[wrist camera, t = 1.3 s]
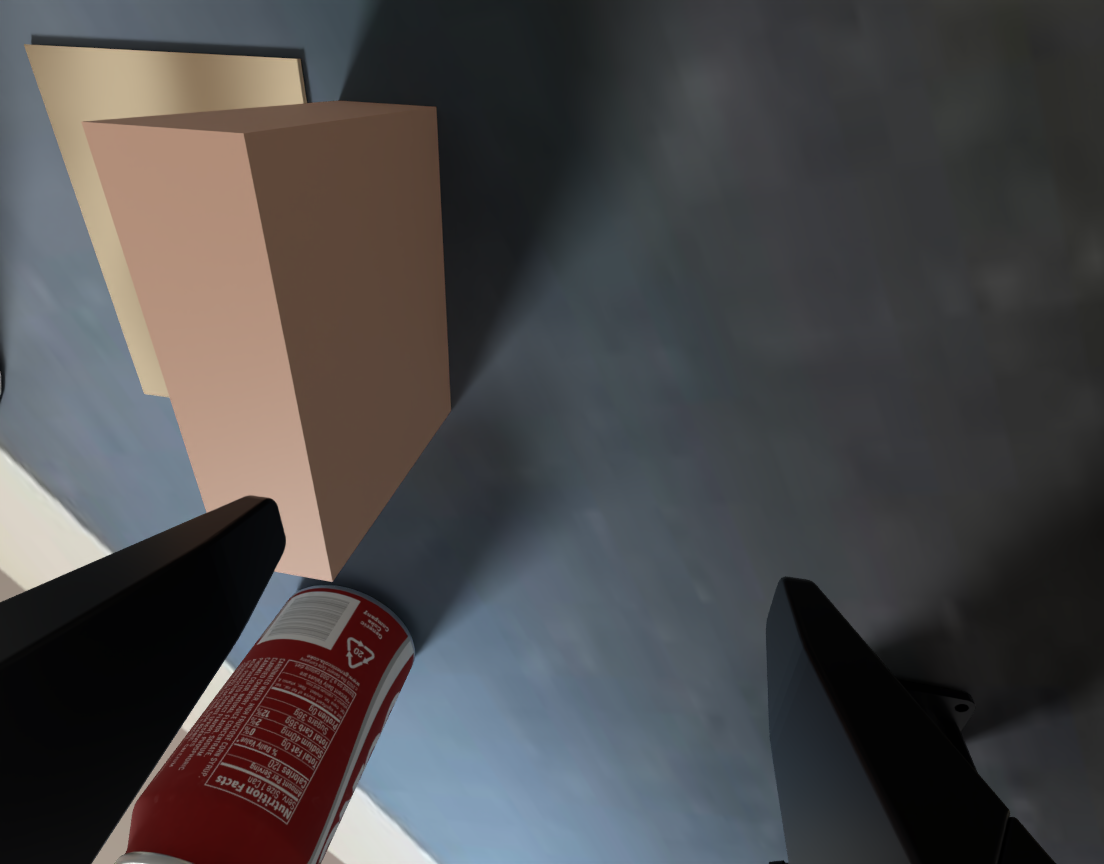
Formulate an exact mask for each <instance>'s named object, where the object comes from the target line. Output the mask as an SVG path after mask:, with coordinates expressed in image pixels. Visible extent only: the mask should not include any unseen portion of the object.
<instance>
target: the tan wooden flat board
mask: <svg viewBox="0 0 1104 864" xmlns="http://www.w3.org/2000/svg"><path fill="white" fill-rule="evenodd" d="M24 46H25V49H26V52H27V55H28V58H29V61H30V64H31V67H32V69H33V72H34V75H35V78H36V81H37V84H38V87H39V90H40V93H41V96H42V98H43V101H44V104H45V107H46V110H47V113H48V116H49V119H50V122H51V125H52V127H53V130H54V133H55V136H56V139H57V142H58V145H59V148H60V151H61V154H62V156H63V159H64V162H65V165H66V168H67V171H68V174H69V177H70V180H71V183H72V185H73V188H74V191H75V194H76V197H77V200H78V203H79V206H80V209H81V212H82V214H83V217H84V220H85V223H86V226H87V229H88V232H89V235H90V238H91V241H92V244H93V246H94V249H95V252H96V255H97V258H98V261H99V264H100V267H101V270H102V273H103V275H104V278H105V281H106V284H107V287H108V290H109V293H110V296H111V299H112V302H113V304H114V307H115V310H116V313H117V316H118V319H119V322H120V325H121V328H122V331H123V333H124V336H125V339H126V342H127V345H128V348H129V351H130V354H131V357H132V360H133V362H134V365H135V368H136V371H137V374H138V377H139V380H140V383H141V386H142V389H143V391H144V394H149V395H156V396H163V397H169V394H168V390H167V387H166V384H165V381H164V378H163V375H162V372H161V369H160V366H159V362H158V359H157V356H156V353H155V350H154V347H153V344H152V341H151V338H150V334H149V331H148V328H147V325H146V322H145V319H144V316H143V313H142V310H141V306H140V303H139V300H138V297H137V294H136V291H135V288H134V285H133V282H132V278H131V275H130V272H129V269H128V266H127V263H126V260H125V257H124V254H123V250H122V247H121V244H120V241H119V238H118V235H117V232H116V229H115V225H114V222H113V219H112V216H111V213H110V210H109V207H108V204H107V201H106V197H105V194H104V191H103V188H102V185H101V182H100V179H99V176H98V173H97V169H96V166H95V163H94V160H93V157H92V154H91V151H90V148H89V145H88V141H87V138H86V135H85V132H84V129H83V126H82V123H81V122H83V121H95V120H107V119H120V118H132V117H144V116H156V115H169V114H181V113H193V112H206V111H218V110H230V109H242V108H255V107H267V106H279V105H292V104H304V103H307V100H306V93H305V86H304V79H303V72H302V65H301V59H291V58H272V57H253V56H234V55H216V54H197V53H178V52H159V51H140V50H121V49H103V48H84V47H65V46H46V45H26V44H24Z"/></svg>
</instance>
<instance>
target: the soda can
mask: <svg viewBox="0 0 1104 864" xmlns="http://www.w3.org/2000/svg"><path fill="white" fill-rule="evenodd" d="M414 658H415V647H414V643H413V639H412V637H411V635H410V633H409V631H408V629H407V628H406V626H405V625H404V623H403V622H402V621H401V620H400V619H399V617H398V616H397V615H396V614H395V613H394V612H392V611H391V610H390V609H389V608H388V607H386V606H385V605H383V604H382V603H381V602H379V601H377V600H376V599H374V598H372V597H370V596H368V595H366V594H364V593H362V592H359V591H356V590H353V589H350V588H346V587H342V586H336V585H316V586H311V587H307V588H304V589H302V590H300V591H298V592H296V593H295V594H294V595H292V596H291V597H290V598H289V600H288V601H287V602H286V604H285V605H284V606H283V608H282V609H281V610H280V612H279V613H278V614H277V616H276V617H275V618H274V620H273V621H272V622H271V624H270V625H269V626H268V628H267V629H266V630H265V632H264V633H263V634H262V636H261V637H260V638H259V640H258V641H257V642H256V643H255V645H254V646H253V647H252V649H251V650H250V651H249V653H248V654H247V655H246V657H245V658H244V659H243V661H242V662H241V663H240V665H239V666H238V667H237V669H236V670H235V671H234V673H233V674H232V675H231V677H230V678H229V679H228V681H227V682H226V683H225V685H224V686H223V687H222V689H221V690H220V691H219V693H218V694H217V695H216V697H215V698H214V699H213V701H212V702H211V703H210V704H209V706H208V707H207V708H206V710H205V711H204V712H203V714H202V715H201V716H200V718H199V719H198V720H197V722H196V723H195V724H194V726H193V727H192V728H191V730H190V731H189V732H188V734H187V735H186V736H185V738H184V739H183V740H182V742H181V743H180V744H179V746H178V747H177V748H176V750H175V751H174V752H173V754H172V755H171V756H170V758H169V759H168V760H167V762H166V763H165V764H164V766H163V767H162V768H161V770H160V771H159V772H158V773H157V775H156V776H155V777H154V779H153V780H152V781H151V783H150V784H149V785H148V787H147V788H146V790H145V791H144V792H143V793H142V795H141V796H140V797H139V799H138V800H137V802H136V804H135V806H134V809H133V813H132V820H131V827H130V834H129V841H128V848H127V851H126V853H125V854H124V855H122V856H120V857H119V858H118V859H117V861H116V862H115V863H114V864H321V862H322V860H323V858H324V856H325V854H326V851H327V849H328V847H329V845H330V843H331V841H332V838H333V836H334V834H335V832H336V830H337V828H338V825H339V823H340V821H341V819H342V817H343V815H344V812H345V810H346V808H347V806H348V804H349V802H350V799H351V797H352V795H353V793H354V791H355V789H356V786H357V784H358V782H359V780H360V778H361V776H362V773H363V771H364V769H365V767H366V765H367V763H368V760H369V758H370V756H371V754H372V752H373V750H374V747H375V745H376V743H377V741H378V739H379V737H380V734H381V732H382V730H383V728H384V726H385V724H386V721H387V719H388V717H389V715H390V713H391V711H392V708H393V706H394V704H395V702H396V700H397V698H398V695H399V693H400V691H401V689H402V687H403V685H404V682H405V680H406V678H407V676H408V674H409V672H410V669H411V667H412V665H413V662H414Z"/></svg>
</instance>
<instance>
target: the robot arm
mask: <svg viewBox="0 0 1104 864" xmlns="http://www.w3.org/2000/svg"><path fill="white" fill-rule="evenodd" d="M285 546H286V536H285V532H284V528H283V524H282V520H281V516H280V512H279V508H278V505H277V503H276V502H275V501H274V500H273V499H271V498H267V497H260V496H254V495H248V496H245V497H242V498H240V499H237V500H235V501H233V502H231V503H228V504H226V505H224V506H221V507H219V508H217V509H214V510H212V511H210V512H207V513H205V514H203V515H201V516H198V517H196V518H194V519H191V520H189V521H187V522H184V523H182V524H180V525H177V526H175V527H173V528H171V529H168V530H166V531H164V532H161V533H159V534H157V535H154V536H152V537H150V538H148V539H145V540H143V541H141V542H138V543H136V544H134V545H131V546H129V547H127V548H124V549H122V550H120V551H118V552H115V553H113V554H111V555H108V556H106V557H104V558H101V559H99V560H97V561H94V562H92V563H90V564H88V565H85V566H83V567H81V568H78V569H76V570H74V571H71V572H69V573H67V574H64V575H62V576H60V577H58V578H55V579H53V580H51V581H48V582H46V583H44V584H41V585H39V586H37V587H35V588H32V589H30V590H28V591H25V592H23V593H21V594H19V595H16V596H14V597H12V598H9V599H7V600H5V601H2V602H0V864H92V862H93V861H94V859H95V858H96V856H97V855H98V853H99V852H100V850H101V848H102V847H103V845H104V844H105V842H106V841H107V839H108V838H109V836H110V835H111V833H112V832H113V830H114V829H115V827H116V826H117V824H118V823H119V821H120V819H121V818H122V816H123V815H124V813H125V812H126V810H127V809H128V807H129V806H130V804H131V803H132V801H133V800H134V798H135V797H136V795H137V793H138V792H139V790H140V789H141V787H142V786H143V784H144V783H145V781H146V780H147V778H148V777H149V775H150V774H151V772H152V771H153V769H154V768H155V766H156V764H157V763H158V761H159V760H160V758H161V757H162V755H163V754H164V752H165V751H166V749H167V748H168V746H169V744H170V743H171V741H172V740H173V738H174V737H175V735H176V734H177V732H178V731H179V729H180V728H181V726H182V725H183V723H184V722H185V720H186V719H187V717H188V716H189V714H190V712H191V711H192V709H193V708H194V706H195V705H196V703H197V702H198V700H199V699H200V697H201V696H202V694H203V693H204V691H205V690H206V688H207V686H208V685H209V683H210V682H211V680H212V679H213V677H214V676H215V674H216V673H217V671H218V670H219V668H220V667H221V665H222V664H223V662H224V660H225V659H226V657H227V656H228V654H229V653H230V651H231V650H232V648H233V646H234V645H235V643H236V642H237V640H238V638H239V637H240V635H241V633H242V631H243V630H244V628H245V626H246V624H247V623H248V621H249V619H250V617H251V615H252V613H253V611H254V609H255V607H256V605H257V603H258V601H259V599H260V597H261V596H262V594H263V592H264V590H265V588H266V586H267V584H268V582H269V580H270V578H271V576H272V574H273V572H274V571H275V569H276V567H277V565H278V563H279V561H280V559H281V557H282V555H283V553H284V550H285ZM766 650H767V679H768V708H769V730H770V742H771V750H772V757H773V764H774V771H775V777H776V784H777V790H778V797H779V803H780V810H781V816H782V823H783V829H784V836H785V842H786V849H787V855H788V862H789V863H785V862H784V861H773V862H769V864H1056V863H1055V862H1054V861H1053V860H1052V859H1051V857H1050V856H1049V855H1048V854H1047V853H1046V852H1045V851H1044V850H1043V848H1042V847H1041V846H1040V845H1039V844H1038V843H1037V841H1036V840H1035V839H1034V838H1033V837H1032V836H1031V834H1030V833H1029V832H1028V831H1027V830H1026V829H1025V827H1024V826H1023V825H1022V824H1021V823H1020V822H1019V820H1018V819H1017V818H1015V817H1010V811H1009V809H1008V808H1007V807H1006V806H1005V804H1004V803H1003V802H1002V801H1001V800H1000V799H999V797H998V796H997V795H996V794H995V793H994V792H993V790H992V789H991V788H990V787H989V786H988V785H987V783H986V782H985V781H984V780H983V779H982V778H981V776H980V775H979V774H978V772H977V770H976V768H975V765H974V763H973V760H972V758H971V756H970V753H969V751H968V748H967V746H966V744H965V741H964V739H963V736H962V734H961V731H962V730H963V728H964V727H965V725H966V723H967V722H968V720H969V719H970V717H971V716H972V714H973V713H974V711H975V709H976V706H975V704H974V702H973V700H972V697H971V696H970V695H969V694H968V693H965V692H962V691H956V690H950V689H945V688H939V687H934V686H928V685H923V684H917V683H911V682H906V681H900V680H897V679H896V677H895V676H894V675H893V674H892V673H891V672H890V670H889V669H888V668H887V667H886V666H885V665H884V663H883V662H882V661H881V660H880V659H879V658H878V656H877V655H876V654H875V653H874V652H873V651H872V649H871V648H870V647H869V646H868V645H867V644H866V642H865V641H864V640H863V639H862V638H861V637H860V635H859V634H858V633H857V632H856V631H855V630H854V628H853V627H852V626H851V625H850V624H849V623H848V621H847V620H846V619H845V618H844V617H843V616H842V614H841V613H840V612H839V611H838V610H837V609H836V607H835V606H834V605H833V604H832V603H831V602H830V600H829V599H828V598H827V597H826V596H825V595H824V593H823V592H822V591H821V590H820V589H819V588H818V586H817V585H816V584H815V583H813V582H812V581H810V580H806V579H799V578H793V577H783V578H781V579H780V581H779V582H778V585H777V588H776V591H775V595H774V598H773V601H772V604H771V607H770V611H769V614H768V618H767V624H766ZM1009 817H1010V818H1009Z"/></svg>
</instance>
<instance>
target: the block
mask: <svg viewBox="0 0 1104 864" xmlns="http://www.w3.org/2000/svg"><path fill="white" fill-rule="evenodd" d="M81 123H82V126H83V129H84V132H85V135H86V138H87V141H88V145H89V148H90V151H91V154H92V157H93V160H94V163H95V166H96V169H97V173H98V176H99V179H100V182H101V185H102V188H103V191H104V194H105V197H106V201H107V204H108V207H109V210H110V213H111V216H112V219H113V222H114V225H115V229H116V232H117V235H118V238H119V241H120V244H121V247H122V250H123V254H124V257H125V260H126V263H127V266H128V269H129V272H130V275H131V278H132V282H133V285H134V288H135V291H136V294H137V297H138V300H139V303H140V306H141V310H142V313H143V316H144V319H145V322H146V325H147V328H148V331H149V334H150V338H151V341H152V344H153V347H154V350H155V353H156V356H157V359H158V362H159V366H160V369H161V372H162V375H163V378H164V381H165V384H166V387H167V390H168V394H169V397H170V400H171V403H172V406H173V409H174V412H175V415H176V418H177V422H178V425H179V428H180V431H181V434H182V437H183V440H184V443H185V446H186V450H187V453H188V456H189V459H190V462H191V465H192V468H193V471H194V475H195V478H196V481H197V484H198V487H199V490H200V493H201V496H202V499H203V503H204V506H205V509H206V512H210V511H212V510H214V509H217V508H219V507H221V506H224V505H226V504H228V503H231V502H233V501H235V500H237V499H240V498H242V497H245V496H248V495H254V496H260V497H267V498H271V499H273V500H274V501H275V502H276V503H277V505H278V508H279V512H280V516H281V520H282V524H283V528H284V532H285V536H286V546H285V550H284V553H283V555H282V557H281V559H280V561H279V563H278V565H277V567H276V569H275V571H274V572H280V573H285V574H291V575H297V576H302V577H308V578H313V579H319V580H324V581H330V582H333V581H334V579H335V578H336V576H337V575H338V573H339V572H340V571H341V569H342V568H343V566H344V565H345V563H346V562H347V560H348V559H349V558H350V556H351V555H352V553H353V552H354V550H355V549H356V547H357V546H358V545H359V543H360V542H361V540H362V539H363V537H364V536H365V534H366V533H367V532H368V530H369V529H370V527H371V526H372V524H373V523H374V521H375V520H376V519H377V517H378V516H379V514H380V513H381V511H382V510H383V508H384V507H385V506H386V504H387V503H388V501H389V500H390V498H391V497H392V495H393V494H394V493H395V491H396V490H397V488H398V487H399V485H400V484H401V482H402V481H403V480H404V478H405V477H406V475H407V474H408V472H409V471H410V469H411V468H412V467H413V465H414V464H415V462H416V461H417V459H418V458H419V456H420V455H421V454H422V452H423V451H424V449H425V448H426V446H427V445H428V443H429V442H430V441H431V439H432V438H433V436H434V435H435V433H436V432H437V430H438V429H439V428H440V426H441V425H442V423H443V422H444V420H445V419H446V417H447V416H448V415H449V413H450V412H451V398H450V378H449V357H448V337H447V316H446V296H445V275H444V254H443V234H442V213H441V193H440V172H439V152H438V131H437V111H436V107H432V106H416V105H400V104H384V103H368V102H352V101H329V102H316V103H304V104H292V105H279V106H267V107H255V108H242V109H230V110H218V111H206V112H193V113H181V114H169V115H156V116H144V117H132V118H120V119H107V120H95V121H83V122H81Z"/></svg>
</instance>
